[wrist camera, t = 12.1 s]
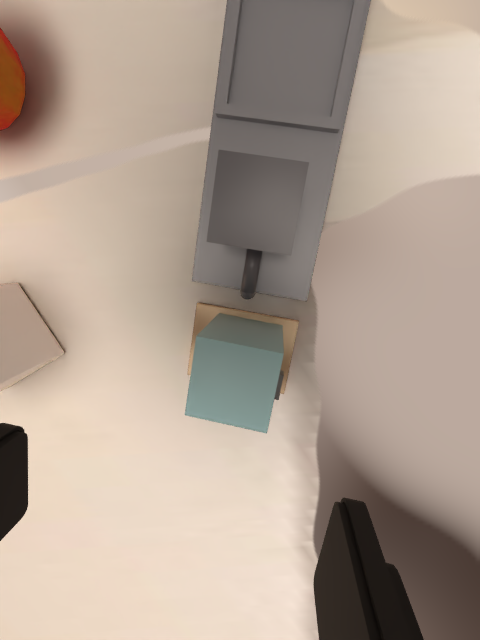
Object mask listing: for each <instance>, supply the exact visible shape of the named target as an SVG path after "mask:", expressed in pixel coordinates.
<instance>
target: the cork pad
mask: <svg viewBox="0 0 480 640" xmlns="http://www.w3.org/2000/svg"><path fill="white" fill-rule="evenodd" d="M219 313H221V314H226V315H232V316H237V317H242V318H247V319H252V320H257V321H263V322H268V323H273V324H278V325H283V347H284V355H283V360H282V365H281V369H280V370H281V371H284V377H283V381H282V386H281V391H280V393H281V394H284V391H285V386H286V381H287V376H288V372H289V367H290V362H291V357H292V352H293V348H294V343H295V338H296V333H297V329H298V324H299V321H298V320H292V319H287V318H281V317H276V316H270V315H265V314H259V313H254V312H248V311H243V310H237V309H232V308H226V307H221V306H215V305H210V304H204V303H197V306H196V314H195V321H194V329H193V336H192V344H191V351H190V359H189V367H188V374H187V375H191V369H192V362H193V355H194V348H195V341H196V336H197V335H198V334H199V333H200V332H201V331H202V330H203V329H204V328H205V327H206V326H207V325H208V324H209V323H210V322H211V321H212V320H213V319H214V318H215V317H216V316H217V315H218V314H219Z"/></svg>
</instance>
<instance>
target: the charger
mask: <svg viewBox="0 0 480 640" xmlns="http://www.w3.org/2000/svg"><path fill="white" fill-rule="evenodd" d="M283 355H284V347H283V325H278V324H273V323H268V322H263V321H257V320H252V319H247V318H242V317H237V316H232V315H226V314H221V313H219V314H218V315H217V316H216V317H215V318H214V319H213V320H212V321H211V322H210V323H209V324H208V325H207V326H206V327H205V328H204V329H203V330H202V331H201V332H200V333H199V334H198V335H197V336H196V341H195V348H194V355H193V362H192V369H191V376H190V383H189V389H188V396H187V403H186V410H185V415H187V416H191V417H196V418H200V419H205V420H209V421H214V422H218V423H223V424H227V425H232V426H236V427H241V428H245V429H250V430H254V431H259V432H263V433H267V430H268V426H269V421H270V416H271V412H272V407H273V402H274V399H276V400H279V395H280V391H281V386H282V381H283V377H284V371H281V370H280V369H281V365H282V360H283Z"/></svg>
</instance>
